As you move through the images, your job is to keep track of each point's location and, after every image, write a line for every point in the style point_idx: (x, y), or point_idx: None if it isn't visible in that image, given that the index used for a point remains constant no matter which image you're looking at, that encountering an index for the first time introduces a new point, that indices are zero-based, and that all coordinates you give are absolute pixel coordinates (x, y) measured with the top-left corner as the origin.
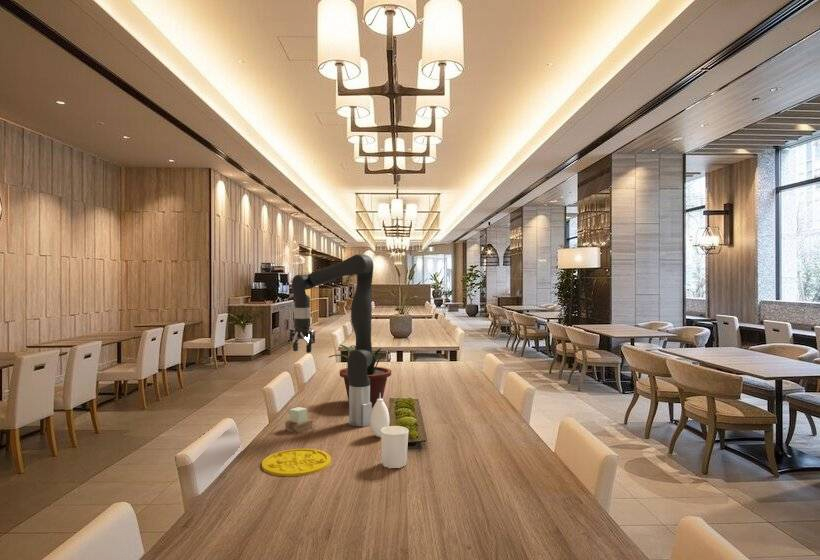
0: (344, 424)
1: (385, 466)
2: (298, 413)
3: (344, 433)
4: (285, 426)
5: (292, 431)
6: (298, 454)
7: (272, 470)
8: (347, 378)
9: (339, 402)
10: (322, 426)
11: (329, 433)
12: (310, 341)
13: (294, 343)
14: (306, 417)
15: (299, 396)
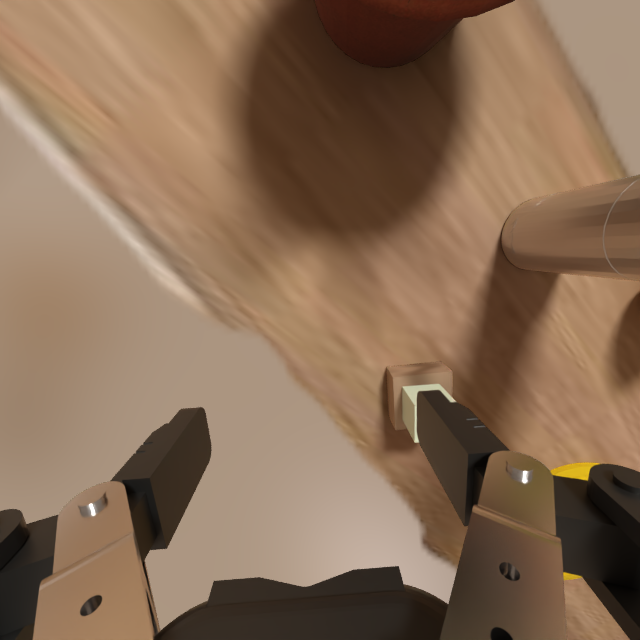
0: (496, 271)
1: None
2: None
3: (548, 334)
4: (391, 421)
5: None
6: None
7: (569, 577)
8: (430, 20)
9: (273, 43)
10: (451, 329)
11: (511, 360)
12: (635, 596)
13: (158, 542)
14: (443, 389)
15: (46, 87)
